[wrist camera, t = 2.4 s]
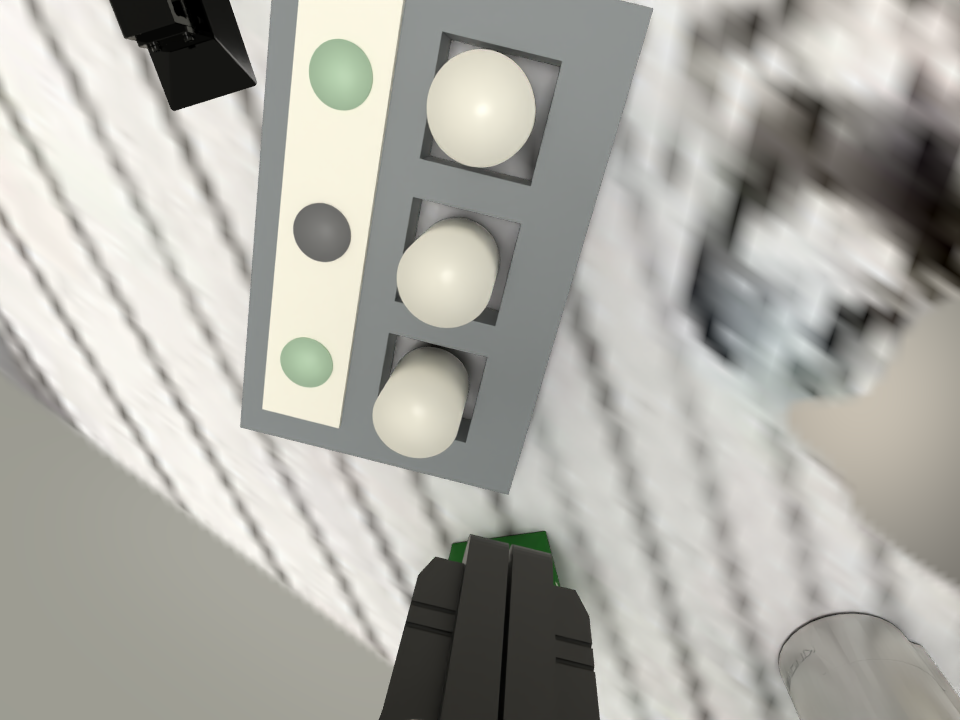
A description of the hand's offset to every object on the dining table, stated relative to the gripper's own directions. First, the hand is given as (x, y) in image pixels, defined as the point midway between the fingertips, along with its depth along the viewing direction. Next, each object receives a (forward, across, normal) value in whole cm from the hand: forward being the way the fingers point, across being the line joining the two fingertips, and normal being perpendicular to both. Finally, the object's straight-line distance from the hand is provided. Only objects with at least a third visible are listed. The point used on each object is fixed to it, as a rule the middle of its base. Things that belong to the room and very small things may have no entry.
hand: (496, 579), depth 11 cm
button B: (+24, +4, 0) cm, 25 cm away
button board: (+27, +6, 0) cm, 27 cm away
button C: (+25, +4, -8) cm, 26 cm away
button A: (+24, +4, +8) cm, 26 cm away
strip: (+24, +11, 0) cm, 26 cm away
